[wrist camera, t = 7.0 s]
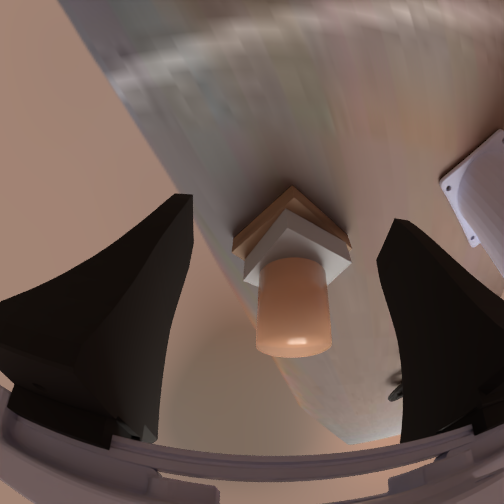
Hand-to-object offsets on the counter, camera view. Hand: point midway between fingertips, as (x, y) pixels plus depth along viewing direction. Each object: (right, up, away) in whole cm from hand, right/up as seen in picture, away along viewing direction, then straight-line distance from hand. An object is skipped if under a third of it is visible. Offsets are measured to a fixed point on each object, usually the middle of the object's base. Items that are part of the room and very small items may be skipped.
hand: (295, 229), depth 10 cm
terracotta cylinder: (+1, -3, +10) cm, 11 cm away
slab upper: (+2, -1, +12) cm, 12 cm away
